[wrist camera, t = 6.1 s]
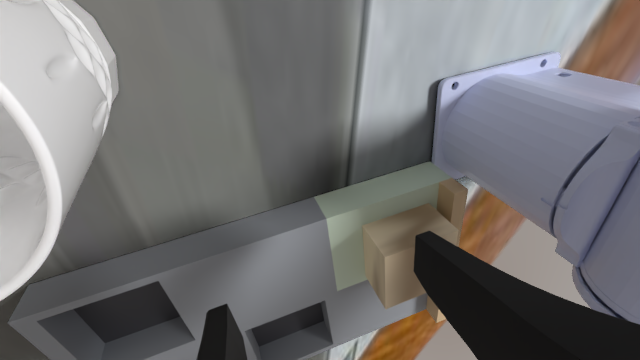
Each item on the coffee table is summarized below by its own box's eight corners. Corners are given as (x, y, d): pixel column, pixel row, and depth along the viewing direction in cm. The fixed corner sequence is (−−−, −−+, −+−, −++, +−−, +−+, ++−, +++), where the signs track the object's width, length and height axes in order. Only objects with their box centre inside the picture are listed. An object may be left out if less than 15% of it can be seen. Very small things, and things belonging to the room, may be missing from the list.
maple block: (428, 202, 22) (458, 230, 19) (424, 253, 24) (450, 283, 22) (361, 225, 20) (384, 257, 18) (365, 276, 23) (385, 309, 21)
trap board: (429, 161, 23) (468, 189, 20) (419, 284, 31) (446, 318, 28) (28, 284, 18) (-9, 350, 14) (138, 395, 25) (130, 455, 22)
